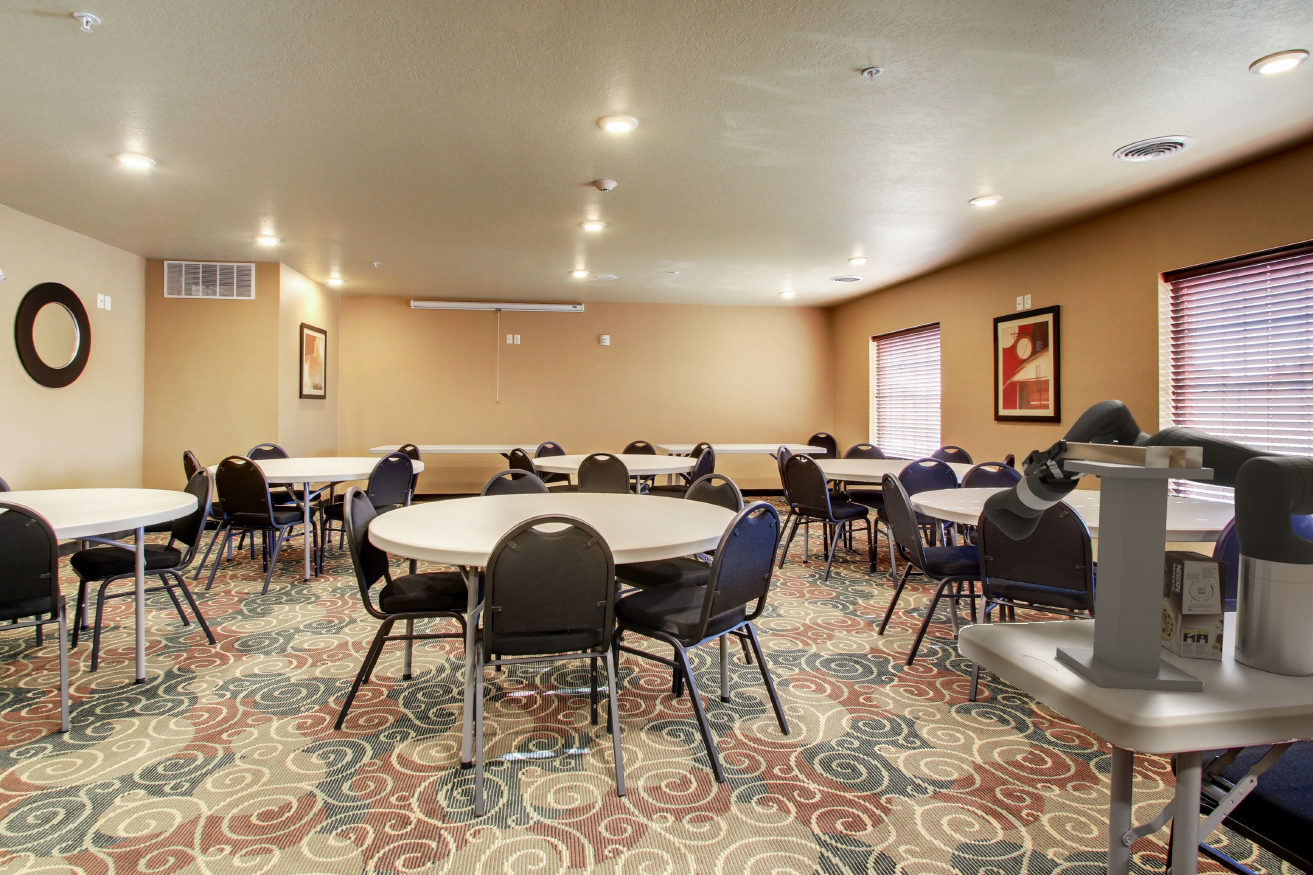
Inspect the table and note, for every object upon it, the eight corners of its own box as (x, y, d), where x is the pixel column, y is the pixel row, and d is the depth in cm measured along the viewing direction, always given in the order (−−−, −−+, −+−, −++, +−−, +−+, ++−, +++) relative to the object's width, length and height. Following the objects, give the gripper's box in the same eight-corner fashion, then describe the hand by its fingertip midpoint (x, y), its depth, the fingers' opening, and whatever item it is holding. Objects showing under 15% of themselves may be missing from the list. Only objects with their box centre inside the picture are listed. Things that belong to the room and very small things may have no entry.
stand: (1146, 659, 106) (1155, 462, 104) (1202, 691, 94) (1213, 468, 92) (1056, 656, 107) (1064, 460, 105) (1100, 686, 95) (1109, 466, 93)
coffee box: (1224, 661, 106) (1229, 562, 105) (1179, 657, 107) (1184, 559, 106) (1190, 641, 115) (1195, 550, 114) (1149, 638, 116) (1153, 548, 115)
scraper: (1083, 457, 115) (1083, 440, 115) (1201, 468, 93) (1202, 447, 93) (1041, 456, 114) (1042, 439, 114) (1151, 467, 92) (1152, 446, 92)
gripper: (1090, 503, 122) (1141, 466, 108) (1011, 501, 123) (1051, 464, 109) (1080, 466, 126) (1129, 426, 111) (1003, 465, 127) (1041, 424, 112)
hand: (1090, 445), depth 110 cm, fingers open, 8 cm apart
